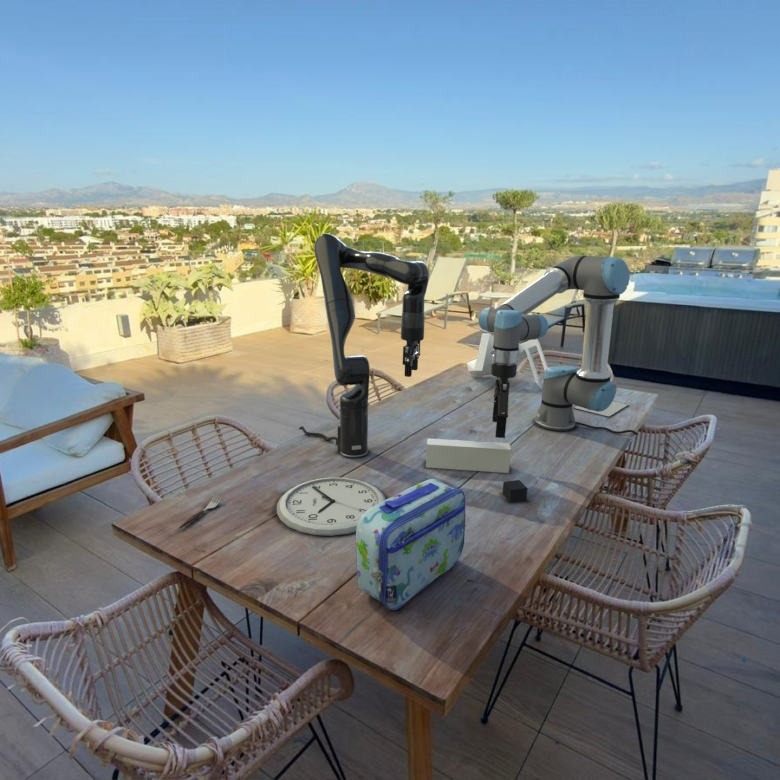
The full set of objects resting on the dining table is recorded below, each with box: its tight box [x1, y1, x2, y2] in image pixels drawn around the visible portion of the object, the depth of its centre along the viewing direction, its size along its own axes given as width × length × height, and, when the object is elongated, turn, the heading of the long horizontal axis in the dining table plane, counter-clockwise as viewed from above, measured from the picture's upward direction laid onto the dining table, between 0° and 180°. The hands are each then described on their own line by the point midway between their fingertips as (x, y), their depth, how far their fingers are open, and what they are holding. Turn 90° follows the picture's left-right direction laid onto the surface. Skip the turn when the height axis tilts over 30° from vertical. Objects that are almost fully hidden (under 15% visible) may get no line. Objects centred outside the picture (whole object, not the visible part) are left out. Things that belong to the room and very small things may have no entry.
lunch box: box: [355, 478, 466, 611], centre depth 110 cm, size 26×11×21 cm, turn 134°
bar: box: [425, 437, 512, 474], centre depth 166 cm, size 26×5×8 cm, turn 83°
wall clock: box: [276, 476, 387, 537], centre depth 142 cm, size 30×2×30 cm
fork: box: [178, 493, 223, 529], centre depth 137 cm, size 3×16×2 cm, turn 160°
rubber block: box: [502, 479, 528, 503], centre depth 148 cm, size 5×5×4 cm
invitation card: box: [573, 400, 629, 418], centre depth 226 cm, size 21×1×15 cm
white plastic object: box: [466, 332, 549, 390], centre depth 259 cm, size 37×45×31 cm
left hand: (411, 373), depth 174 cm, fingers open, 8 cm apart
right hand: (498, 429), depth 162 cm, fingers open, 13 cm apart
